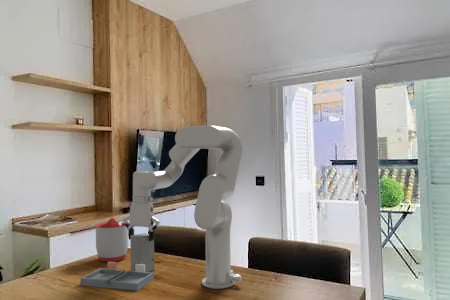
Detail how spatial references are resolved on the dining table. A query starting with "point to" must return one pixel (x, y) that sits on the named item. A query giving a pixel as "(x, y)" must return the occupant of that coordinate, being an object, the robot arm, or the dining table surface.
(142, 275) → the tray
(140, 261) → the skincare box
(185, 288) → the dining table surface
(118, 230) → the citrus juicer
